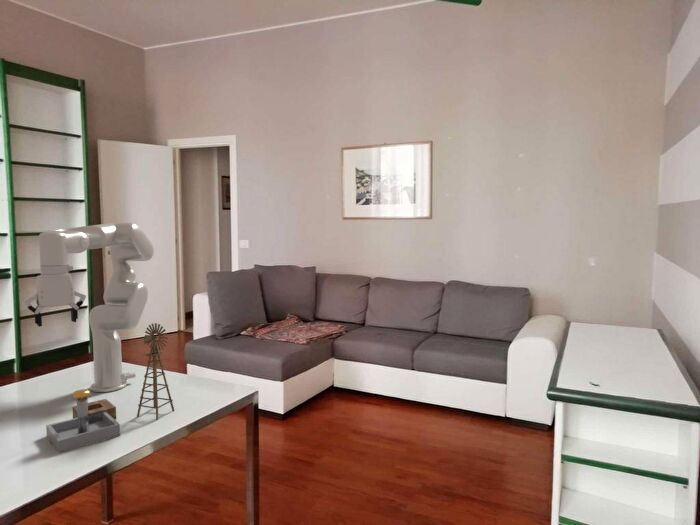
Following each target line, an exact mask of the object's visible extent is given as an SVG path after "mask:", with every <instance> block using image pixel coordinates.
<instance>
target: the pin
mask: <svg viewBox="0 0 700 525" xmlns="http://www.w3.org/2000/svg"><path fill="white" fill-rule="evenodd" d="M89 397H91V390H90V388H89V389H88V388H86V389H85V388H83V389H78V390H75V391H74V392H73V399H74V400H76V406H77V420H78V434H81V433H85V432H88V431H89V421H88V403H89V400H88V399H89Z"/></svg>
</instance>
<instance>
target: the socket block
mask: <svg viewBox="0 0 700 525" xmlns="http://www.w3.org/2000/svg"><path fill="white" fill-rule="evenodd" d="M71 410H72V419H74V418H77V405H72V407H71ZM103 412H107V413H108V414H109V415H110V416H111V417H112V418H113V419H114V420H115V419H116V420H117V407H116V405H114V404H113V403H112V402H111V401H109V400H108V399H107V398H104V399H99V400H94V401H90V402H88V416H91V417H90V418H88V419H89V422H90V423H93V422H95V421H94V420H96V421H98V420H97V418H98V419H99V420H100V418H101V417H100V418H99V417H97V418H96V417H95V416H94V415H95V414H98V416H99V413H103ZM92 416H93V417H94V418H96V419H94V420H93V418H92ZM90 419H91V420H90ZM102 419H103V418H102ZM100 421H102V420H100ZM90 423H89V424H90Z"/></svg>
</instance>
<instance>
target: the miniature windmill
mask: <svg viewBox="0 0 700 525" xmlns="http://www.w3.org/2000/svg"><path fill="white" fill-rule="evenodd" d="M163 328H164V326H163V325H161V324H160V323H155V322H154V323H151V324H149V325H148V327H146V330H145V335H144V337H143V344H144V345H145V344H147V345H149V348H150V352H149V353H145V354H144V355H145V356H146V357H148V360H146V362H147V366H146V372H145V374H144V375H143V376H144V379H143V380H144V381H143V385H142V388H141V393H140V396H139V404H137V406H138V410H137V414H136V417H137V418H138V417H139V416H140V413H141V408H142V407H144V408H148V409H155V420H156V421H157V420H159V409H160V408H161V407H164V406H165V405H167V404H170V407H171V411H172V412H174V411H175V408H174V407H175V406H174V403H173V401H174V400H173V399H172V396H171V393H170V388H169V385H168V381H167V379H166V372H165V371H164V367H163V364H162V362H163V361H162V359H161V356H160V355H162V354H164V353H165V351H164V350H163V349H164V347H166V346H167V345H166V344H168V341H167V340H168V339H169V338H168V333H167V332H166V331H167V330H166V329H165V328H164V329H163ZM157 338H158V339H157ZM165 339H166V340H165ZM165 343H166V344H165ZM161 350H163V351H161ZM157 357H158V359H157ZM150 364H152V368H151V367H150ZM157 364H159V366H160V370H161V371H158V366H157ZM149 370H151V372H149ZM151 374H152V376H149V375H151ZM161 376H162V377H163V380H164V383H163V384H161V383H158V377H161ZM148 379H152V383H147V380H148ZM158 386H163V387H161V388H158ZM149 387H152V389H153V391H152V390H145V389H147V388H149ZM164 389H166V393H167V397H168V398H164V397H159V396H158V392H160V391H161V390H164ZM144 393H151V394H153V396H152V398H151V397H145V396H144V395H145V394H144ZM143 399H144V400H145V401H144V402H143ZM158 400H164V401H167V402H164V403H163V404H161V405H159V403H158V402H159V401H158ZM150 401H153V406H150V405H143V404H146V403H148V402H150Z"/></svg>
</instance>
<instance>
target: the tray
mask: <svg viewBox="0 0 700 525" xmlns="http://www.w3.org/2000/svg"><path fill="white" fill-rule="evenodd" d="M94 416H95V417H96V418H97V417H99V418H100V417H101V418H100V420H102V421H100V420H99V419H98V418H97V420H98V421H96V420H94V419H96V418H94V417H93V416H92V418H93V420H94V421H95V422H93V423H90V422H89V423H90V424H89V431H88V432H85V433H81V434H78V420H77V418H74V419H73V418H70V419H65V420H62V421H59V422H55V423H54V422H53V423H50V424H46V425H45V426H46V428H45V429H46V437H47V438H48V440H49V442H50V443H51V445H52V446H53V447H54V448H55V450H56V452H57V453H62V452H65V451H69V450H70V451H71V450H73V449H77V448H80V447H83V445H84V446H87V445H86V444H88V445H91V444H94V443H93V442H95V443H97V441H98V442H102V441H104V439H105V440H108V438H109V439H113V438H115V437H119V436H121V424H120V423H119V422H118V421H117V419H116V420H114V419H113V418H112V417H111V416H110V415H109V414H108V413H107V412H103V413H99V416H98V414H95V415H94ZM90 417H91V416H88V418H90ZM102 418H103V419H102ZM90 420H91V419H90ZM88 421H89V419H88ZM101 440H102V441H101ZM90 443H91V444H90ZM79 446H80V447H79ZM76 447H77V448H76Z"/></svg>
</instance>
